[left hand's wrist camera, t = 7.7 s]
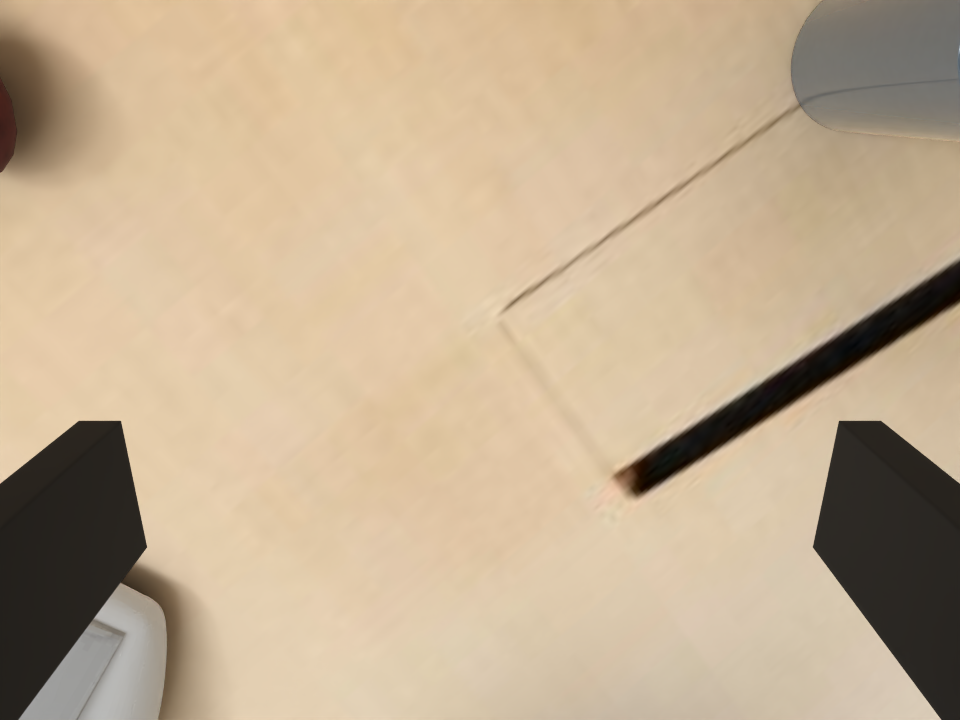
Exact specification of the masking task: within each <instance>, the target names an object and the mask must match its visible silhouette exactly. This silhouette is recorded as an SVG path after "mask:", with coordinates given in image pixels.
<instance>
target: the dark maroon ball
mask: <svg viewBox="0 0 960 720" xmlns="http://www.w3.org/2000/svg"><path fill="white" fill-rule="evenodd" d="M16 134H17V129H16V124H15V118H14V112H13V107H12V102H11V99H10V97H9V95H8V93H7V90H6V88H5V86H4V84H3V82H2V80H1V78H0V172H2V171H3V170H4V168H5V166H6V165H7V163H8V162H9V160H10V159H11V157H12V156H13V153H14V147H15V141H16Z"/></svg>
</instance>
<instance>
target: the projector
mask: <svg viewBox="0 0 960 720" xmlns="http://www.w3.org/2000/svg"><path fill="white" fill-rule="evenodd" d="M166 656H167V632H166V620H165V616H164V613H163V610H162V608H161V607H160V606H159V604H158V603H157V602H155V601H154V600H153V599H151V598H150V597H148V596H146V595H143V594H141V593H139V592H137V591H136V590H134V589H132V588H130V587H128V586H126V585H124V584H122V583H120V584H119V586H118V587H117V588H116V590H115V591H114V592H113V594H112V595H111V596H110V598H109V599H108V600H107V602H106V603H105V604H104V606H103V607H102V608H101V610H100V611H99V612H98V614H97V615H96V616H95V618H94V619H93V620H92V622H91V623H90V624H89V626H88V627H87V628H86V630H85V631H84V632H83V634H82V635H81V637H80V638H79V639H78V641H77V642H76V643H75V645H74V646H73V647H72V649H71V650H70V651H69V653H68V654H67V655H66V657H65V658H64V659H63V661H62V662H61V663H60V665H59V666H58V667H57V669H56V670H55V671H54V673H53V674H52V675H51V677H50V678H49V679H48V681H47V682H46V683H45V685H44V686H43V688H42V689H41V690H40V692H39V693H38V694H37V696H36V697H35V698H34V700H33V701H32V702H31V704H30V705H29V706H28V708H27V709H26V710H25V712H24V713H23V714H22V716H21V717H20V718H19V720H158V717H159V712H160V708H161V702H162V696H163V689H164V681H165V671H166Z"/></svg>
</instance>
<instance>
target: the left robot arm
mask: <svg viewBox="0 0 960 720" xmlns="http://www.w3.org/2000/svg"><path fill="white" fill-rule="evenodd" d="M146 548H147V545H146V540H145V535H144V530H143V525H142V521H141V516H140V511H139V506H138V501H137V496H136V492H135V487H134V482H133V477H132V472H131V467H130V463H129V458H128V453H127V448H126V443H125V438H124V434H123V429H122V424H121V421H78V422H77V423H76V424H75V425H73V426H72V427H71V428H70V429H68V430H67V431H66V432H65V433H63V434H62V435H61V436H60V437H58V438H57V439H56V440H55V441H53V442H52V443H51V444H49V445H48V446H47V447H46V448H44V449H43V450H42V451H41V452H39V453H38V454H37V455H36V456H34V457H33V458H32V459H31V460H29V461H28V462H27V463H26V464H24V465H23V466H22V467H21V468H19V469H18V470H17V471H16V472H14V473H13V474H12V475H11V476H9V477H8V478H7V479H6V480H4V481H3V482H2V483H1V484H0V720H19V718H20V717H21V716H22V714H23V713H24V712H25V710H26V709H27V708H28V706H29V705H30V704H31V702H32V701H33V700H34V698H35V697H36V696H37V694H38V693H39V692H40V690H41V689H42V688H43V686H44V685H45V683H46V682H47V681H48V679H49V678H50V677H51V675H52V674H53V673H54V671H55V670H56V669H57V667H58V666H59V665H60V663H61V662H62V661H63V659H64V658H65V657H66V655H67V654H68V653H69V651H70V650H71V649H72V647H73V646H74V645H75V643H76V642H77V641H78V639H79V638H80V637H81V635H82V634H83V632H84V631H85V630H86V628H87V627H88V626H89V624H90V623H91V622H92V620H93V619H94V618H95V616H96V615H97V614H98V612H99V611H100V610H101V608H102V607H103V606H104V604H105V603H106V602H107V600H108V599H109V598H110V596H111V595H112V594H113V592H114V591H115V590H116V588H117V587H118V586H119V584H120V583H121V582H122V580H123V579H124V577H125V576H126V575H127V573H128V572H129V571H130V569H131V568H132V567H133V565H134V564H135V563H136V561H137V560H138V559H139V557H140V556H141V555H142V553H143V552H144V551H145V549H146ZM813 548H814V549H815V551H816V552H817V553H818V555H819V556H820V557H821V559H822V560H823V561H824V563H825V564H826V565H827V567H828V568H829V569H830V571H831V572H832V573H833V575H834V576H835V577H836V579H837V580H838V582H839V583H840V584H841V586H842V587H843V588H844V590H845V591H846V592H847V594H848V595H849V596H850V598H851V599H852V600H853V602H854V603H855V604H856V606H857V607H858V608H859V610H860V611H861V612H862V614H863V615H864V616H865V618H866V619H867V620H868V622H869V623H870V624H871V626H872V627H873V628H874V630H875V631H876V633H877V634H878V635H879V637H880V638H881V639H882V641H883V642H884V643H885V645H886V646H887V647H888V649H889V650H890V651H891V653H892V654H893V655H894V657H895V658H896V659H897V661H898V662H899V663H900V665H901V666H902V667H903V669H904V670H905V671H906V673H907V674H908V675H909V677H910V678H911V679H912V681H913V682H914V683H915V685H916V686H917V688H918V689H919V690H920V692H921V693H922V694H923V696H924V697H925V698H926V700H927V701H928V702H929V704H930V705H931V706H932V708H933V709H934V710H935V712H936V713H937V714H938V716H939V717H940V718H941V720H960V484H959V483H958V482H957V481H956V480H954V479H953V478H952V477H951V476H949V475H948V474H947V473H946V472H944V471H943V470H942V469H941V468H939V467H938V466H937V465H936V464H934V463H933V462H932V461H931V460H929V459H928V458H927V457H926V456H924V455H923V454H922V453H921V452H919V451H918V450H917V449H916V448H914V447H913V446H912V445H911V444H909V443H908V442H907V441H905V440H904V439H903V438H902V437H900V436H899V435H898V434H897V433H895V432H894V431H893V430H892V429H890V428H889V427H888V426H887V425H885V424H884V423H883V422H882V421H839V424H838V429H837V434H836V438H835V443H834V448H833V453H832V458H831V463H830V467H829V472H828V477H827V482H826V487H825V492H824V496H823V501H822V506H821V511H820V516H819V521H818V525H817V530H816V535H815V540H814V545H813Z"/></svg>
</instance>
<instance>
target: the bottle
mask: <svg viewBox="0 0 960 720" xmlns="http://www.w3.org/2000/svg"><path fill="white" fill-rule="evenodd" d="M791 76H792V84H793V89H794V92H795V95H796V97H797V100H798V101H799V103H800V105H801V107H802V108H803V110H804V111H805V112H806V113H807V114H808V115H809V116H810V117H811V118H812V119H813V120H814V121H816V122H817V123H818V124H820V125H822V126H824V127H826V128H829V129H832V130H835V131H841V132H851V133H863V134H874V135H886V136H898V137H909V138H921V139H932V140H944V141H956V142H960V0H823V1H822V2H821V3H820V4H819V5H818V6H817V7H816V8H815V9H814V10H813V12H812V13H811V14H810V16H809V17H808V19H807V20H806V21H805V23H804V25H803V27H802V29H801V30H800V33H799V35H798V38H797V40H796V43H795V47H794V50H793V56H792V63H791Z"/></svg>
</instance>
